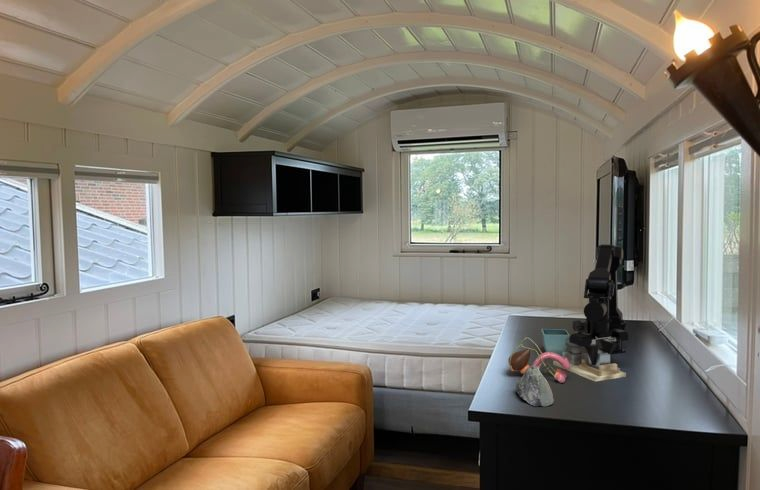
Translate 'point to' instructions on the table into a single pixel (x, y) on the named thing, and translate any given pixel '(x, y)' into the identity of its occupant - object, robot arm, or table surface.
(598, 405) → the table surface
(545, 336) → the flower pot
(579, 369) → the chassis board
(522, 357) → the anatomy model
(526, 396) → the mineral rock
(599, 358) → the brushed metal cube
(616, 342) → the robot arm
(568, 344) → the grey rounded knob
